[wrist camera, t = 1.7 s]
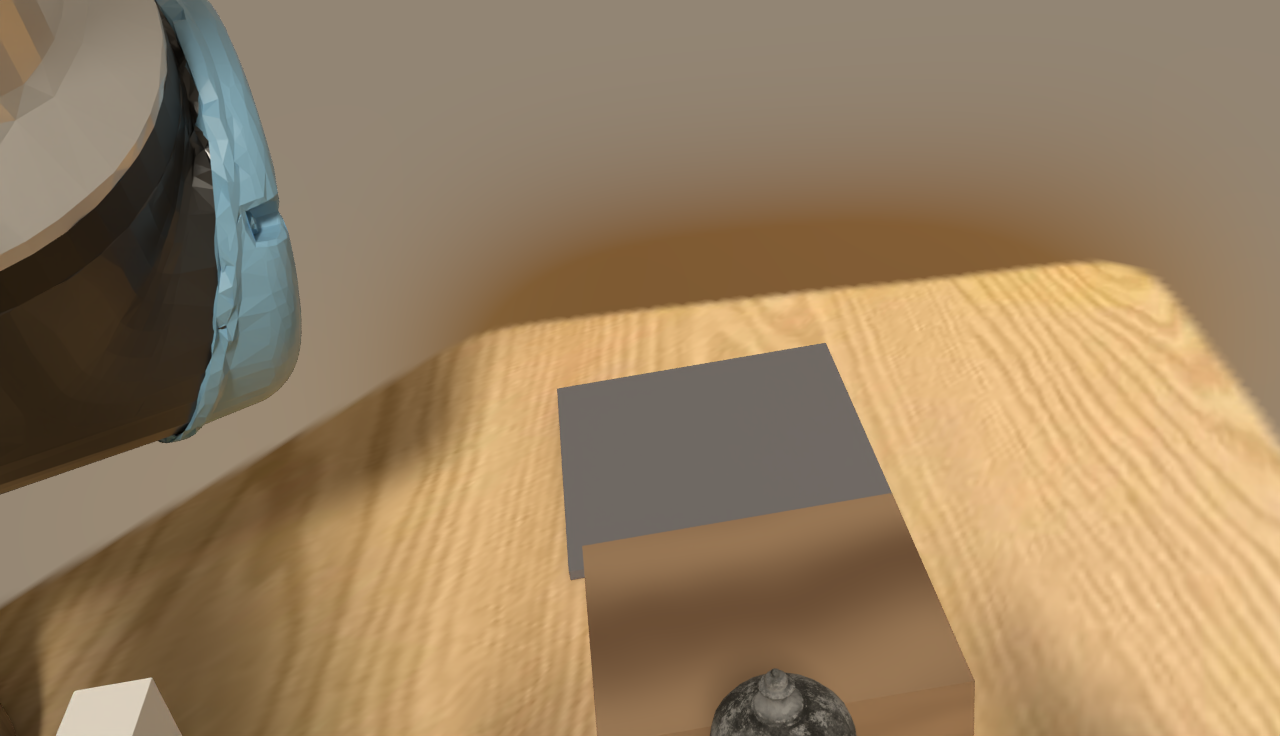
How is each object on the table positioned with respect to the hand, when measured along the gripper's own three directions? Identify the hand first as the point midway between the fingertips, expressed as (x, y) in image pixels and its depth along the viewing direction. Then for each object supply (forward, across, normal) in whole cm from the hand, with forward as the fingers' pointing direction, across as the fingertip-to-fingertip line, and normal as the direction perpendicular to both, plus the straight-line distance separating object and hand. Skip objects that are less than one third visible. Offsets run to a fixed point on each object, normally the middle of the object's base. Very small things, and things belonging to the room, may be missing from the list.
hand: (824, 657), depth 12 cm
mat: (+30, +1, -19) cm, 36 cm away
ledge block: (+17, +1, -20) cm, 26 cm away
